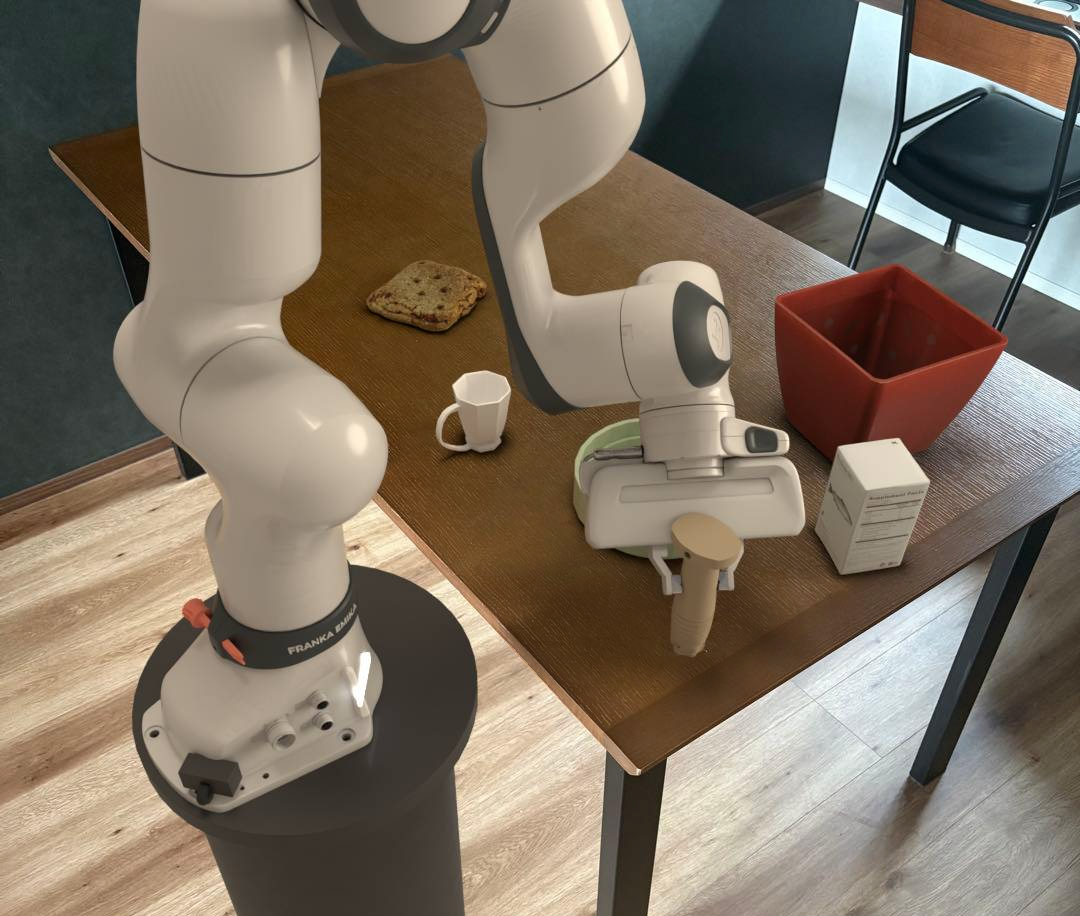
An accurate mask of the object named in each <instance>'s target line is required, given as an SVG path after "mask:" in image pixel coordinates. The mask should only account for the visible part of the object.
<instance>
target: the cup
mask: <svg viewBox="0 0 1080 916" xmlns="http://www.w3.org/2000/svg"><path fill="white" fill-rule="evenodd" d="M451 387H452V391H453V395H454V399H455V403H453V404H451V405H449V406H447V407H445V409H444V410H442V412H441V413H440V415H439V417H438V418H437V422H436V426H435V437H436V440H437V442H438V443H439V444H440V445H442V447H444V448H446V449H448V450H451V451H456V452H467V451H469V450H473V451H476V452H479V453H484V452H490V451H495V449H496V448H497V447H498V446H499V445H500V444H502V438H501V436H502V435H503V432H504V429H505V426H506V422H507V417H508V411H509V405H510V401H511V394H512V389H511V386H510V383H509V381H508V379H507V377H506V376H504V375H501V374H498V373H495V372H493V371H489V370H486V369H485V370H479V371H473V372H466V373H463V374H462V375H461V376H460V377H459V378H458V379H457V380H456V381H455V382H454V383H453V384H451ZM456 412H457V415H458V418H459V421H460V423H461V426H462V429H463V432H464V435H465V436H464V439H465V442H466V443H465V444H463V445H455V444H449V443H446V442H444V441H443V438H442V434H443V427H444V423H445V422H446V420H447V418H448V416H450V415H451V414H452V413H456Z"/></svg>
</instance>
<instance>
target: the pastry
mask: <svg viewBox="0 0 1080 916" xmlns="http://www.w3.org/2000/svg"><path fill="white" fill-rule="evenodd" d="M487 286H488V285H487V282H485V281H484V280H483V279H482V278H480V277H479V276H477V275H476V274H474V273H473V274H472V273H471V272H468V271H467V270H464V269H463V268H460V267H457V266H452V265H446V264H443V263H439V262H437V261H433V260H425V259H423V260H417V261H415V262H412V263H410V264H408V265H407V266H406V267H405V268H403V269H402V270H401V271H399V272H398V273H396V275H395V276H394V277H392V278H391V279H390V280H389V281H388V282H387V283H383V285H382V286H380V287H379V288H378V289H376V290H374V291H372V292H371V293H370V294H369V295H368V296H367V299H366V301H365V304H366V306H367V308H368V310H370V311H371V312H372V313H375V314H378V315H380V316H382V317H384V318H386V319H389V320H391V321H392V322H393V321H394V322H399V323H401V324H407V325H408V324H409V325H411V326H413V327H415V328H416V327H419V329H422V330H425V331H427V332H428V331H429V332H443V331H446V330H448V329H450V328H451V327H452V326H453V325H454V324H455V323H457V322H458V320H459V319H460V318H461V317H464V316H466V315H468V314H469V313H470V312H471V310H472V308H474V307H475V306H476V305H477V300H476V299H477V298H482V297H484V296H485V295H486V288H487Z"/></svg>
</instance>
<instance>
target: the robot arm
mask: <svg viewBox="0 0 1080 916" xmlns="http://www.w3.org/2000/svg"><path fill="white" fill-rule="evenodd" d="M136 41H137V43H136V102H137V104H136V106H137V107H136V109H137V111H136V112H137V123H138V134H139V145H140V153H141V162H142V171H143V173H142V174H143V184H144V193H145V201H146V202H145V203H146V217H147V229H148V238H149V266H148V277H147V282H146V289H145V293H144V298H143V300H142V301H141V302H139V303H138V304H137V305H135V307H133V309H132V310H130V311H129V313H128V314H127V315H126V317H125V318H124V319H123V321H122V323H121V325H120V326H119V328H118V331H117V333H116V336H115V339H114V343H113V350H112V351H113V353H112V357H113V358H112V359H113V365H114V369H115V373H116V375H117V377H118V379H119V381H120V382H121V384H122V386H123V387H124V388H125V391H126V392H127V393H128V395H129V397H130V399H131V400H132V401H133V402H134V404H135V405H136V407H137V408H138V409H139V410H140V412H141V414H142V415H143V416H144V417H145V418H146V419H147V420H148V422H149V423H151V424H152V425H153V426H154V427H156V428H157V429H158V430H159V431H161V432H162V433H163V434H164V435H165V436H167V438H169V439H170V440H171V441H172V442H174V443H175V444H176V445H177V446H178V447H179V448H180V449H182V450H183V451H184V452H185V453H187V454H188V455H189V456H190V457H191V458H192V459H193V460H194V461H195V462H196V463H198V464H199V466H200V467H201V468H202V469H203V471H204V472H205V473H206V474H207V476H208V478H210V480H211V481H212V483H213V484H214V486H215V487H216V489H217V490H218V492H219V495H220V497H221V498H220V499H219V500H218V501H217V503H216V504H215V505H214V506H213V507H212V509H211V510H210V512H209V514H208V515H207V518H206V519H205V520H206V521H205V524H204V529H203V530H204V531H203V535H204V536H203V538H204V543H205V546H206V549H207V554H208V557H209V560H210V563H211V564H210V565H211V567H212V571H213V574H214V579H215V582H216V585H217V589H216V592H215V594H216V596H215V600H214V605H213V610H212V611H211V610H210V609H208V608H207V607H206V605H205V604H204V602H203V600H202V599H201V598H198V597H194V598H191V599H189V600H188V601H186V602H185V603H184V605H183V607H182V608H181V615H182V617H185V618H186V619H187V620H189V621H190V622H191V624H192V626H193V627H195V628H202V627H205V629H204V630H203V631H202V633H201V634H200V635H199V636H198V638H197V639H196V640H195V641H194V642H193V643H192V645H191V646H190V647H189V648H188V649H187V651H186V652H185V653H184V654H183V655H182V657H181V658H180V659H179V660H178V661H177V662H176V664H175V665H174V666H173V667H172V668H171V669H170V670H169V671H168V673H167V674H166V675H165V677H164V679H163V682H162V687H161V699H160V700H159V701H157V702H156V703H155V704H154V705H153V706H151V707H150V708H149V709H148V710H147V711H146V712H145V713H144V715H143V720H142V733H143V738H144V743H145V747H146V749H147V752H148V754H149V757H150V758H151V760H152V762H153V764H154V766H155V767H156V768H157V770H158V771H159V773H160V774H161V775H162V777H163V778H164V779H165V780H166V781H167V783H168V784H169V785H170V786H171V787H172V788H173V789H174V790H175V791H176V792H177V793H178V794H179V795H181V796H182V797H183V798H185V799H186V800H187V801H189V802H190V803H192V804H194V805H196V806H198V807H200V808H203V809H205V810H208V811H212V812H217V813H223V812H226V811H229V810H231V809H233V808H235V807H237V806H240V805H242V804H244V803H246V802H248V801H250V800H252V799H254V798H256V797H259V796H261V795H263V794H265V793H267V792H269V791H271V790H273V789H275V788H278V787H280V786H282V785H284V784H286V783H288V782H290V781H292V780H294V779H297V778H299V777H301V776H303V775H305V774H307V773H309V772H311V771H313V770H316V769H318V768H320V767H322V766H324V765H326V764H328V763H330V762H332V761H335V760H337V759H339V758H341V757H343V756H345V755H347V754H349V753H351V752H354V751H356V750H358V749H360V748H362V747H364V746H366V745H367V744H368V743H369V742H370V741H371V739H372V736H373V720H372V714H373V711H374V708H375V706H376V703H377V701H378V699H379V696H380V693H381V689H382V683H383V673H382V667H381V664H380V661H379V659H378V657H377V655H376V654H375V652H374V651H373V649H372V648H371V646H370V645H369V643H368V641H367V639H366V637H365V634H364V632H363V629H362V626H361V624H360V620H359V617H358V610H359V598H358V592H357V586H356V582H355V577H354V572H353V569H352V566H351V564H352V563H350V560H349V559H348V556H347V548H346V542H345V541H346V540H345V535H344V523H347V522H348V521H350V520H351V519H353V518H354V517H356V516H357V515H358V514H359V513H361V512H362V511H363V510H364V509H365V508H366V507H367V506H368V504H370V502H371V501H372V500H373V498H374V497H375V495H376V494H377V492H378V491H379V488H380V486H381V484H382V481H383V479H384V477H385V475H386V471H387V465H388V458H389V443H388V438H387V437H388V436H387V435H386V432H385V429H384V428H383V426H382V425H381V423H380V422H379V421H378V420H377V418H375V416H374V415H373V413H372V412H371V411H370V410H369V409H368V408H367V406H366V405H365V404H364V403H363V402H362V401H361V400H360V399H359V397H358V396H356V394H355V393H354V392H353V391H352V390H351V389H350V388H349V387H348V386H347V385H346V383H344V382H343V381H341V380H340V379H338V378H337V377H336V376H334V375H333V374H331V373H329V372H328V371H327V370H325V369H324V368H322V367H321V366H320V365H318V364H317V363H315V362H314V361H313V360H311V359H309V358H308V357H307V356H305V355H303V353H301V352H299V351H298V350H297V349H295V348H294V347H293V346H292V345H290V343H289V341H288V339H287V338H286V334H285V333H284V331H283V327H282V323H281V312H282V307H283V301H284V297H286V296H288V295H289V294H291V293H293V292H295V291H296V290H297V289H299V288H300V287H301V286H302V285H303V284H305V283H306V282H307V281H308V280H309V279H310V278H311V277H312V276H313V274H314V273H315V272H316V270H317V268H318V266H319V263H320V260H321V256H322V161H321V160H322V142H321V138H322V137H321V116H320V104H319V103H320V101H319V99H321V96H322V90H323V83H324V80H325V75H326V72H327V70H328V67H329V64H330V63H331V60H332V58H333V56H334V55H335V53H336V51H337V50H338V48H339V47H340V45H342V46H344V47H345V48H347V49H349V50H350V51H352V52H354V53H356V54H358V55H361V56H362V57H365V58H368V59H370V60H373V61H377V62H381V63H386V64H393V65H409V64H410V65H411V64H418V63H424V62H428V61H432V60H435V59H438V58H440V57H443V56H445V55H446V54H449V53H451V52H453V51H456V50H460V51H461V52H462V53H463V56H464V58H465V61H466V64H467V67H468V69H469V72H470V75H471V77H472V79H473V82H474V84H475V87H476V90H477V92H478V94H479V97H480V99H481V102H482V105H483V108H484V112H485V117H486V137H485V139H483V141H482V142H481V143H479V145H478V146H477V147H476V148H475V150H474V153H473V157H472V161H471V170H470V171H471V172H470V178H471V179H470V180H471V181H470V183H471V195H472V201H473V207H474V211H475V216H476V222H477V226H478V229H479V235H480V238H481V242H482V246H483V250H484V254H485V258H486V262H487V265H488V270H489V273H490V276H491V281H492V284H493V288H494V291H495V295H496V299H497V303H498V307H499V310H500V314H501V317H502V323H503V325H504V330H505V331H504V332H505V336H506V344H507V351H508V359H509V364H510V370H511V374H512V378H513V379H512V380H513V382H514V385H515V388H516V389H517V391H518V392H519V394H521V396H522V397H523V398H524V399H525V400H526V401H528V402H529V403H530V404H531V405H533V406H534V407H536V408H537V409H538V410H540V411H542V412H544V413H545V414H547V415H549V416H553V417H555V416H560V415H565V414H570V413H574V412H579V411H584V410H588V409H591V408H594V407H601V406H610V405H618V404H625V403H626V404H627V403H633V402H639V406H638V418H639V425H640V440H641V446H632V447H622V448H616V449H608V448H600V449H595V450H594V452H593V453H592V454H589V455H587V456H586V457H585V458H584V459H583V460H582V461H581V463H580V466H579V482H580V488H581V490H582V492H583V493H584V495H585V496H586V506H585V525H584V539H585V542H586V543H587V544H588V545H589V547H591V548H592V549H593V550H602V549H603V550H604V549H615V548H621V547H633V546H648V557H649V558H648V559H649V561H650V562H651V564H652V566H653V567H654V569H655V570H656V571H657V574H659V576H661V587H662V588H661V589H662V593H663V595H664V596H673V595H674V596H675V594H682V586H681V585H680V584H681V582H682V578H681V575H680V574H673V573H672V571H671V570H670V568H669V566H668V565H667V564H666V562H665V561H664V559H662V557H667V556H668V550H667V544H673V542H672V540H671V530H672V525H673V523H674V522H675V521H676V520H677V519H678V518H679V517H681V516H683V515H686V514H689V513H699V514H703V515H707V516H710V517H713V518H716V519H717V520H719V521H721V522H722V523H724V524H725V525H727V526H728V527H730V528H731V529H732V530H733V531H734V532H735V533H736V535H737V536H738V538H739V540H740V541H741V543H742V545H741V550H740V554H739V557H738V559H737V560H736V561H735V562H734V563H733V564H732V565H730V566H729V567H726V568H724V569H720V570H719V577H718V584H717V592H728V591H729V592H730V591H734V590H735V577H734V572H735V571H736V570H737V567H738V565H739V563H740V561H741V559H742V557H743V554H744V552H745V547H744V540H750V539H751V540H753V539H768V538H783V537H795V536H798V535H800V534H801V532H802V530H803V528H804V527H805V524H806V509H805V501H804V495H803V489H802V484H801V480H800V477H799V473H798V470H797V467H796V466H795V465H794V463H793V462H792V461H791V460H790V459H789V458H786V457H784V455H785V454H787V453H788V452H789V449H790V437H789V435H788V433H787V432H786V431H784V430H781V429H778V428H774V427H770V426H766V425H762V424H759V423H754V422H750V421H747V420H743V419H740V418H736V406H735V401H734V398H733V394H732V393H731V392H732V391H731V390H730V389H731V388H730V384H729V383H730V381H729V375H730V369H731V366H732V364H733V362H734V349H733V334H732V325H731V317H730V314H729V312H728V309H727V308H726V305H725V301H724V300H725V299H724V296H723V291H722V287H721V284H720V280H719V277H718V274H717V272H716V271H715V270H714V269H713V268H712V267H710V266H709V265H707V264H706V263H705V264H704V263H702V262H699V261H695V260H687V259H675V260H666V261H661V262H658V263H654V264H652V265H650V266H648V267H647V268H645V269H643V271H642V272H641V273H640V274H639V275H638V277H637V281H636V285H633V286H629V287H627V288H620V289H613V290H608V291H601V292H596V293H589V294H583V295H569V294H565V293H561V292H559V291H557V290H556V289H554V287H553V283H552V278H551V274H550V269H549V263H548V259H547V255H546V250H545V246H544V242H543V241H544V240H543V237H542V231H541V228H540V227H541V226H540V223H541V222H542V221H543V220H544V219H546V218H547V217H548V216H549V215H550V214H552V212H554V211H555V210H557V209H558V208H560V207H561V206H562V205H564V204H565V203H567V202H569V201H570V200H572V199H573V198H575V197H577V196H579V195H580V194H582V193H584V192H585V191H587V190H589V189H591V188H592V187H593V186H595V185H596V184H597V183H599V182H600V181H601V180H602V179H603V178H605V176H607V175H608V174H609V173H610V172H611V171H612V170H613V169H614V168H615V167H616V166H617V164H619V162H620V161H621V160H622V159H623V157H624V155H625V154H626V153H627V151H628V150H629V148H630V147H631V146H632V144H633V142H634V140H635V139H636V136H637V134H638V132H639V130H640V127H641V124H642V121H643V117H644V113H645V109H646V91H645V81H644V76H643V69H642V65H641V61H640V56H639V53H638V52H639V51H638V49H637V44H636V41H635V38H634V35H633V31H632V28H631V25H630V22H629V18H628V16H627V12H626V10H625V6H624V3H623V0H140V5H139V15H138V25H137V40H136ZM782 455H783V456H782ZM593 457H594V460H598V461H588V460H589V459H591V458H593ZM609 459H617V460H609ZM154 735H158V736H157V737H155V738H152V737H153V736H154ZM345 738H350V740H348V741H343V740H344V739H345Z"/></svg>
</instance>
